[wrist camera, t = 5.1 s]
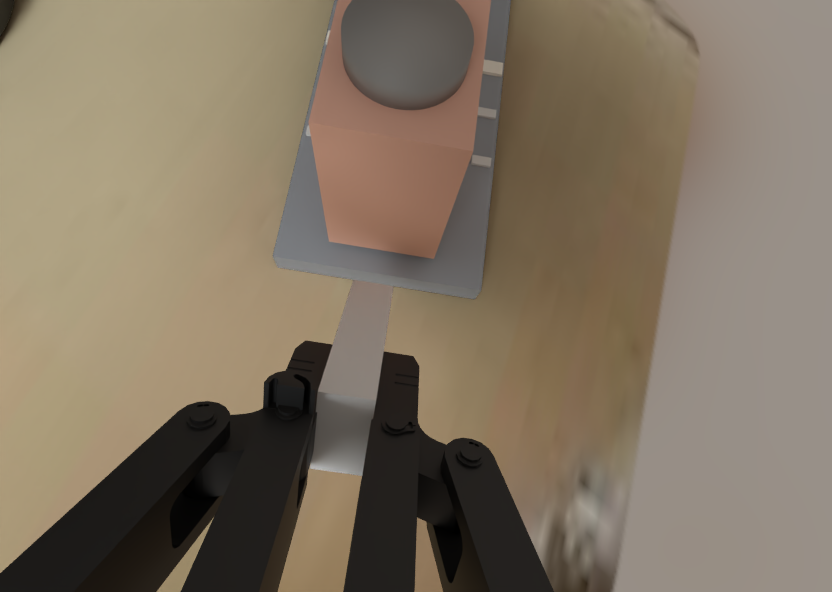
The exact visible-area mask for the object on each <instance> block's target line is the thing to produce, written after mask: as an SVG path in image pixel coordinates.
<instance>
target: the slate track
mask: <svg viewBox="0 0 832 592" xmlns="http://www.w3.org/2000/svg"><path fill="white" fill-rule="evenodd" d="M337 1H338V0H335V1H334V5H333V9H332V13H331V17H330V21H329V26H328V30H327V34H326V38H325V42H324V46H323V50H322V54H321V59H320V63H319V67H318V71H317V75H316V79H315V83H314V87H313V92H312V96H311V100H310V104H309V108H308V112H307V116H306V121H305V125H304V129H303V133H302V137H301V141H300V145H299V149H298V154H297V158H296V162H295V166H294V170H293V174H292V178H291V182H290V187H289V191H288V195H287V199H286V203H285V207H284V211H283V216H282V220H281V224H280V228H279V232H278V236H277V240H276V244H275V249H274V253H273V258H274V260H275V262H276V265H277V267H278V268H284V269H291V270H297V271H303V272H309V273H315V274H321V275H328V276H334V277H340V278H346V279H352V280H359V281H365V282H371V283H378V284H384V285H390V286H396V287H402V288H408V289H414V290H420V291H426V292H433V293H439V294H445V295H451V296H457V297H464V298H470V299H475V298H476V297H477V295H478V294H479V293H480V291H481V287H482V278H483V268H484V258H485V248H486V238H487V229H488V219H489V209H490V199H491V190H492V180H493V170H494V160H495V151H496V141H497V131H498V121H499V112H500V102H501V92H502V82H503V73H504V63H505V53H506V43H507V34H508V24H509V14H510V4H511V0H491V5H490V14H489V22H488V31H487V39H486V47H485V56H484V64H483V73H482V81H481V90H480V98H479V107H478V115H477V124H476V132H475V141H474V149H473V153H472V156H471V159H470V162H469V164H468V167H467V170H466V172H465V175H464V178H463V181H462V183H461V186H460V189H459V192H458V194H457V197H456V200H455V203H454V205H453V208H452V211H451V214H450V216H449V219H448V222H447V224H446V227H445V230H444V233H443V235H442V238H441V241H440V244H439V246H438V249H437V252H436V255H435V257H434V259H431V258H425V257H419V256H413V255H407V254H401V253H395V252H389V251H383V250H377V249H371V248H365V247H359V246H353V245H347V244H341V243H335V242H329V239H328V233H327V228H326V222H325V216H324V210H323V204H322V198H321V192H320V187H319V181H318V175H317V169H316V163H315V157H314V152H313V146H312V140H311V134H310V128H309V118H310V114H311V109H312V105H313V101H314V97H315V93H316V89H317V84H318V80H319V76H320V72H321V68H322V63H323V59H324V55H325V51H326V47H327V43H328V38H329V34H330V30H331V26H332V22H333V18H334V13H335V9H336V5H337Z"/></svg>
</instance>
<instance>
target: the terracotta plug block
mask: <svg viewBox="0 0 832 592" xmlns="http://www.w3.org/2000/svg"><path fill="white" fill-rule="evenodd" d="M490 5H491V0H338V1H337V5H336V9H335V13H334V18H333V22H332V26H331V30H330V34H329V38H328V43H327V47H326V51H325V55H324V59H323V63H322V68H321V72H320V76H319V80H318V84H317V89H316V93H315V97H314V101H313V105H312V109H311V114H310V118H309V128H310V134H311V140H312V146H313V152H314V157H315V163H316V169H317V175H318V181H319V187H320V192H321V198H322V204H323V210H324V216H325V222H326V228H327V233H328V239H329V242H335V243H341V244H347V245H353V246H359V247H365V248H371V249H377V250H383V251H389V252H395V253H401V254H407V255H413V256H419V257H425V258H431V259H434V257H435V255H436V252H437V249H438V246H439V244H440V241H441V238H442V235H443V233H444V230H445V227H446V224H447V222H448V219H449V216H450V214H451V211H452V208H453V205H454V203H455V200H456V197H457V194H458V192H459V189H460V186H461V183H462V181H463V178H464V175H465V172H466V170H467V167H468V164H469V162H470V159H471V156H472V153H473V149H474V141H475V132H476V124H477V115H478V107H479V98H480V90H481V81H482V73H483V64H484V56H485V47H486V39H487V31H488V22H489V14H490Z"/></svg>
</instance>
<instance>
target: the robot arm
mask: <svg viewBox="0 0 832 592" xmlns="http://www.w3.org/2000/svg"><path fill="white" fill-rule="evenodd" d="M13 5H14V0H0V36H1V34H2V33H3V31H4V29H5V27H6V25H7V23H8V20H9V18H10V15H11V12H12V9H13ZM392 293H393V286H390V285H384V284H378V283H371V282H365V281H359V280H353V283H352V286H351V289H350V292H349V295H348V298H347V301H346V305H345V308H344V311H343V314H342V317H341V320H340V323H339V327H338V330H337V333H336V336H335V339H334V342H333V345H331V344H325V343H318V342H312V341H304V342H303V343H302V344H301V345H299V346H298V347H297V348H295V351H294V353H293V355H292V357H291V361H290V362H289V364H288V367H287V369H286V371H282V372H277V373H275V374H273V375H271V376H269V377H268V378H267V380H266V381H265V382H264V402H263V409H261V410H259V411H256V412H253V413H247V414H238V415H230V413H229V411H228V410H227V408H226V407H225V406H223V405H221V404H219V403H215V402H210V401H205V402H196V403H193V404H190V405H187V406H186V407H184V408H183V409H181V410H179V411H178V412H177V413H176V414H175V415H174V416H173V417H172V418H171V419H169V420H168V421H167V422H166V423H165V424H164V425H163V426H162V427H161V428H160V429H158V430H157V431H156V432H155V433H154V434H153V435H152V436H151V437H150V438H149V439H147V440H146V441H145V442H144V443H143V444H142V445H141V446H140V447H139V448H138V449H136V450H135V451H134V452H133V453H132V454H131V455H130V456H129V457H128V458H127V459H125V460H124V461H123V462H122V463H121V464H120V465H119V466H118V467H117V468H116V469H114V470H113V471H112V472H111V473H110V474H109V475H108V476H107V477H106V478H105V479H103V480H102V481H101V482H100V483H99V484H98V485H97V486H96V487H95V488H94V489H92V490H91V491H90V492H89V493H88V494H87V495H86V496H85V497H84V498H83V499H81V500H80V501H79V502H78V503H77V504H76V505H75V506H74V507H73V508H72V509H70V510H69V511H68V512H67V513H66V514H65V515H64V516H63V517H62V518H61V519H59V520H58V521H57V522H56V523H55V524H54V525H53V526H52V527H51V528H50V529H49V530H47V531H46V532H45V533H44V534H43V535H42V536H41V537H40V538H39V539H38V540H36V541H35V542H34V543H33V544H32V545H31V546H30V547H29V548H28V549H27V550H25V551H24V552H23V553H22V554H21V555H20V556H19V557H18V558H17V559H16V560H14V561H13V562H12V563H11V564H10V565H9V566H8V567H7V568H6V569H5V570H3V571H2V572H1V573H0V592H156V591H157V590H158V589H159V587H160V586H161V585H162V584H163V582H164V581H165V580H166V578H167V577H168V576H169V574H170V573H171V572H172V571H173V569H174V568H175V567H176V565H177V564H178V563H179V561H180V560H181V559H182V558H183V556H184V555H185V554H186V552H187V551H188V550H189V548H190V547H191V546H192V544H193V543H194V542H195V541H196V539H197V538H198V537H199V535H200V534H201V533H202V531H203V530H204V529H205V528H206V526H207V525H208V524H209V522H210V521H211V520H212V518H213V517H214V519H213V521H212V523H211V525H210V527H209V530H208V532H207V534H206V536H205V539H204V541H203V543H202V545H201V548H200V550H199V552H198V554H197V556H196V559H195V561H194V563H193V565H192V568H191V570H190V572H189V574H188V577H187V579H186V581H185V583H184V586H183V588H182V590H181V592H277V591H278V587H279V584H280V580H281V576H282V573H283V569H284V566H285V562H286V558H287V555H288V551H289V547H290V544H291V540H292V536H293V533H294V529H295V525H296V522H297V518H298V514H299V511H300V507H301V504H302V500H303V496H304V493H305V489H306V485H307V476H308V469H309V466H310V462H311V466H310V468H311V469H318V470H325V471H332V472H339V473H346V474H353V475H360V476H362V480H361V486H360V492H359V498H358V504H357V510H356V517H355V523H354V529H353V535H352V541H351V548H350V554H349V560H348V566H347V572H346V579H345V585H344V591H343V592H414V588H415V558H416V529H417V517H418V518H420V519H422V520H424V521H426V522H427V529H428V533H429V537H430V541H431V545H432V549H433V553H434V557H435V561H436V565H437V569H438V573H439V577H440V581H441V584H442V588H443V592H554V591H553V588H552V586H551V584H550V582H549V579H548V577H547V575H546V573H545V570H544V568H543V566H542V564H541V561H540V559H539V557H538V555H537V552H536V550H535V548H534V546H533V543H532V541H531V539H530V537H529V534H528V532H527V530H526V528H525V525H524V523H523V521H522V519H521V516H520V514H519V512H518V510H517V507H516V505H515V503H514V501H513V498H512V496H511V494H510V492H509V489H508V487H507V485H506V483H505V480H504V478H503V476H502V474H501V471H500V469H499V467H498V465H497V462H496V460H495V458H494V456H493V454H492V453H491V451H490V450H489V448H487V447H486V446H485V445H483V444H482V443H480V442H478V441H476V440H473V439H468V438H459V439H454V440H453V441H451V442H450V443H448V444H447V445H445V444H443V443H440V442H438V441H436V440H434V439H432V438H430V437H429V436H428V435H426V434H425V433H424V432H423V430H422V429H421V428H420V426H419V424H418V418H417V417H418V389H419V388H418V386H419V365H418V363H417V362H416V360H415V358H414V356H408V355H402V354H396V353H389V352H384V346H385V339H386V332H387V326H388V319H389V313H390V306H391V299H392Z"/></svg>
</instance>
